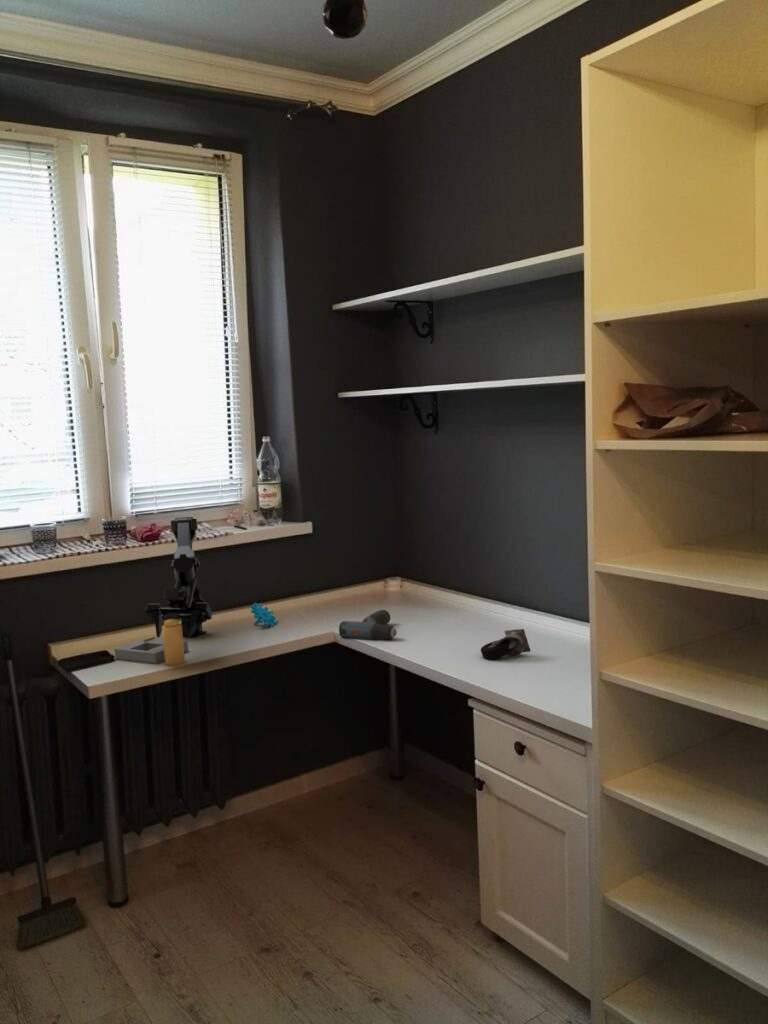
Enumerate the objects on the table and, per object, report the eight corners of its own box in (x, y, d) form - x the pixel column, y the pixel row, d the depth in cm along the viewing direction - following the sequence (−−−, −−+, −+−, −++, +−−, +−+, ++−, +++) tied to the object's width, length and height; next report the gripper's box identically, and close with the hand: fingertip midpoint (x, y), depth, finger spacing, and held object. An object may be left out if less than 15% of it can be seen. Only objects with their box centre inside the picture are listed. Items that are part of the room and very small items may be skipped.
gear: (265, 625, 283) (247, 602, 286) (254, 637, 285) (237, 614, 288) (284, 622, 293) (266, 600, 296) (273, 633, 295) (256, 611, 298)
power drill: (420, 627, 278) (392, 644, 260) (369, 623, 286) (338, 639, 269) (419, 610, 277) (391, 626, 259) (368, 607, 286) (337, 622, 268)
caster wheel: (479, 667, 239) (499, 653, 247) (512, 665, 232) (532, 650, 239) (472, 644, 239) (492, 631, 246) (505, 642, 231) (524, 628, 238)
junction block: (148, 646, 271) (147, 634, 271) (188, 650, 264) (187, 638, 263) (115, 658, 259) (114, 646, 259) (155, 663, 251) (154, 650, 251)
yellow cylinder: (174, 659, 255) (170, 617, 254) (188, 660, 252) (185, 618, 251) (160, 664, 250) (157, 622, 249) (175, 666, 248) (172, 623, 246)
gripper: (144, 577, 255) (132, 622, 246) (205, 575, 252) (195, 621, 243) (157, 597, 264) (146, 642, 254) (216, 596, 261) (207, 641, 251)
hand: (173, 636), depth 250 cm, fingers open, 9 cm apart
